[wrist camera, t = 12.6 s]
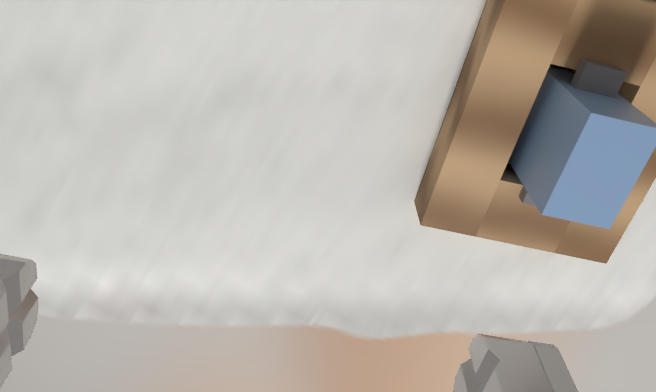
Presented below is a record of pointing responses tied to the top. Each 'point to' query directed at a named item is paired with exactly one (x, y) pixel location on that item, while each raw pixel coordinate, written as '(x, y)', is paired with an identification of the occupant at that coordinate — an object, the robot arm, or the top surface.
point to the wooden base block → (513, 109)
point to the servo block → (582, 145)
